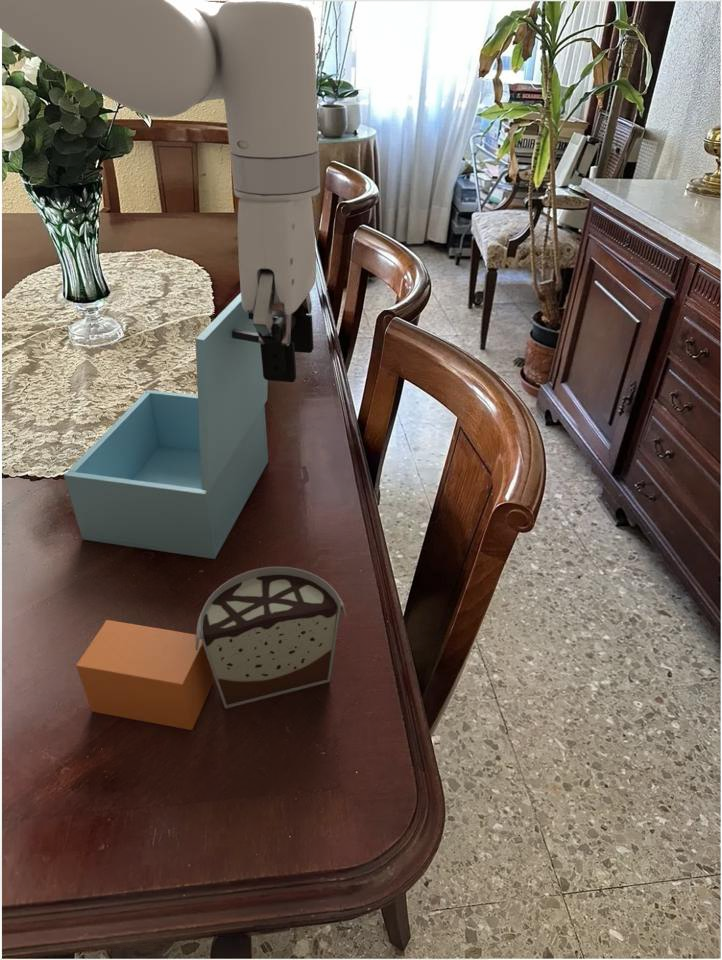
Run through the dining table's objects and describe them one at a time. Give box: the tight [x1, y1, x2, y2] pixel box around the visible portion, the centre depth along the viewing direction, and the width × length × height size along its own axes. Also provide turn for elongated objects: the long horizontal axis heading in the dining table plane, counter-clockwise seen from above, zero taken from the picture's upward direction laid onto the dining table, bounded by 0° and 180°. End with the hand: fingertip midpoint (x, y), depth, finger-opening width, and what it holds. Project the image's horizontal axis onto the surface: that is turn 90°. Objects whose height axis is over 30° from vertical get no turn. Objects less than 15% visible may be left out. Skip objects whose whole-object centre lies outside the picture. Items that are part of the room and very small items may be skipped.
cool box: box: [63, 389, 269, 560], centre depth 78 cm, size 16×20×9 cm
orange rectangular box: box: [75, 619, 215, 731], centre depth 56 cm, size 9×5×6 cm, turn 79°
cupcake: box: [195, 566, 347, 710], centre depth 57 cm, size 12×6×10 cm, turn 108°
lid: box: [194, 292, 296, 491], centre depth 69 cm, size 16×20×6 cm
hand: (289, 363), depth 67 cm, fingers closed on lid, 6 cm apart
